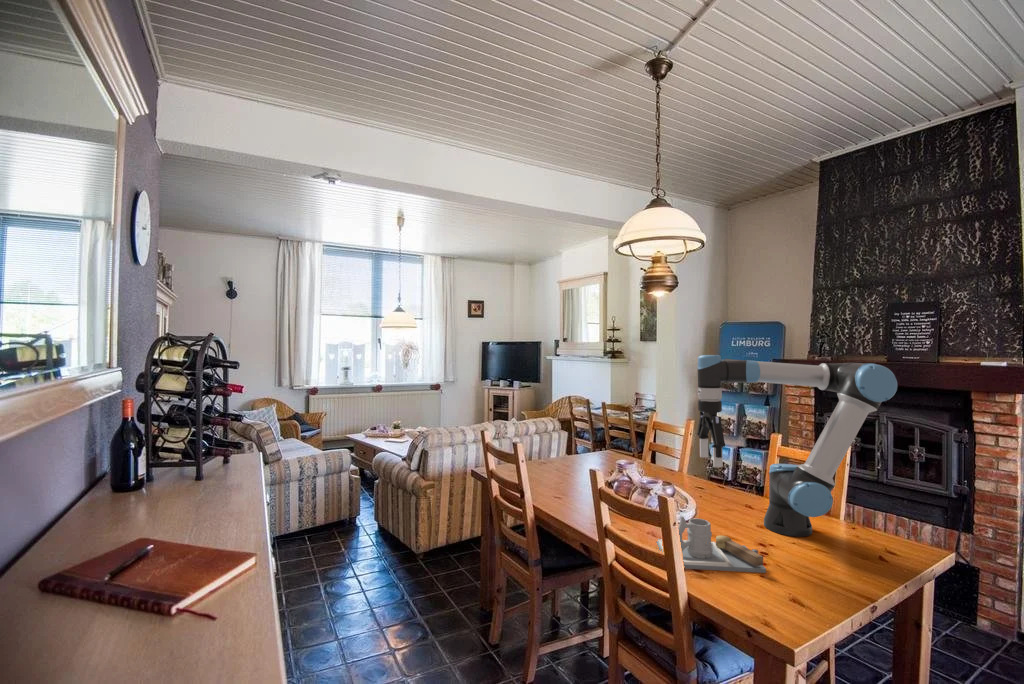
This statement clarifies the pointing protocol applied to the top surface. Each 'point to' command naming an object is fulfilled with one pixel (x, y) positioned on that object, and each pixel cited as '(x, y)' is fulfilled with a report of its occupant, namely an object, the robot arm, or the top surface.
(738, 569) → the board
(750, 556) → the bar
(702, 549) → the mug
